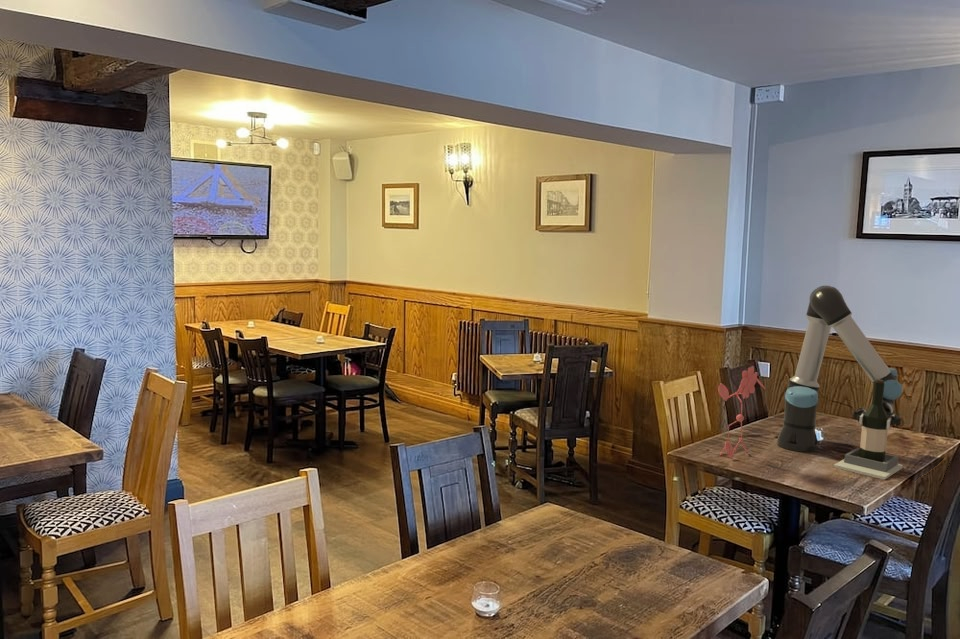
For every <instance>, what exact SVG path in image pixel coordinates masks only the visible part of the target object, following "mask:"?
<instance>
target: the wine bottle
mask: <svg viewBox="0 0 960 639" xmlns="http://www.w3.org/2000/svg"><path fill="white" fill-rule="evenodd" d="M884 384H885V383H884V382H883V380H879V379H876V381H875V382H874V384H873V389H872V390H873V391H872V399H871V400H872V401H871V405H870V406H868V408H867V409H866V410H865V411H866V412H865V413H864V414H863V423H862V424H861V425H862V426H861V434H860V445H859V448H860V454H859V457H861V458H865V459H869V460H874V461H878V462H882V463H883V462H884V460H885V454H886V450H887V441H888V440H887V439H888V431H889V429H887V420H888V418H889V416H888V415H887V413H886V411H885V409H884V407H883V405H882V404H883V394H884Z"/></svg>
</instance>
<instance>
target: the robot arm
mask: <svg viewBox="0 0 960 639" xmlns="http://www.w3.org/2000/svg"><path fill="white" fill-rule="evenodd" d="M852 314H853V312H852V311H851V310H850V308H849V306H848V305H847V303H846V302H845V299H844V297H843V294H842V293H841V292H840V290H838V289H837V288H836V287H835V286H831V285H821V286H818V287H816V288H814V290H813V291H812V292H811V293H810V295H809V302H808V307H807V311H806V315H805V316H806V318H807V319H808V322H807V327H806V332H805V335H804V339H803V343H802V346H801V349H800V354H799V358H798V361H797V362H798V363H797V366H796V369H795V374H794V375H793V376H792V377H791V378H789V381H788V385H787V388H786V391H785V393H784V413H783V424H782V427H781V430H780V432H779V434H778V437H777V439H776V444H777V446H779V447H780V448H783V449H786V450H790V451H795V452H802V453H804V452H805V453H809V452H810V453H811V452H816V451H818V450H819V441H818V437H817V432H816V421H817V420H816V419H817V411H818V402H819V395H818V394H819V390H820V387H821V386H820V384H819V383H818V379H819V374H820V371H821V367H822V363H823V360H824V355H825V351H826V348H827V344H828V341H829V337H830V333H831V328H833V329H834V331H835V332H836V334H837V336H838V337H839V338H840V339H841V341H842V342H843V344H844V345H845V346H846V347H847V349H848V351H849V352H850V353H851V354H852V356H853V357H854V359H855V360H856V361H857V363H858V364H859V366H860V367H861V368H862V370H863V371H864V372H865V374H866V376H868V378H869V379H870V381H871V382H872V383H873V385H874V382H875V381H876V379H879V380H883V382H884V383H885V384H884V394H883V404H882V405H883V407H884V409H885V411H886V413H887V415H888V416H889V418H888V420H887V429H888V430H889V429H890V428H891V427H892V426H895V425H896V426H898V427H899V426H901V420H902V418H901V416H900V413H894V411H895V406H896V405H895V401H896V399H899V398H900V397H901V395H902V394H903V386H902V384H901V383H900V382H899V381H898V370H897V369H895V368H893V367H888V366H887V364H886V363H885V361H884V360H883V358H882V357H881V356H880V355H879V353H878V352H877V351H876V349H875V348H874V346H873V345H872V343H871V342H870V341H869V339H868V338H867V336H866V335H865V334H864V332H863V331H862V330H861V328H860V327H859V325H857V323H856V321H855V320H854V318H853V317H852ZM866 411H867V410H865V409H863V408H862V407H859V408H858V409H857V410H855V411H853V414H852V418H853V419H854V420H857V422H858V424H859V425H862V423H863V414H864V413H865V412H866Z"/></svg>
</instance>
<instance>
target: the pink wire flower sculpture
mask: <svg viewBox="0 0 960 639" xmlns="http://www.w3.org/2000/svg"><path fill="white" fill-rule="evenodd" d="M758 375H759V374H758V371H756V372H755V367H754V365H751V366H750V367H748V368H747V370H746V369H745V370H743V371H742V372H741V377H742V379H741V381H740V384H739V386H738V389H737V391H735V392H734V393H732V394H730V391H729V390H728V388H727V386H726V385H724V384H723V383H722V382H721V383H719V385H718V389H717V390H718V394H719V397H721V398H722V399H723V401H725V402H727V401H728V399H730V398H731V397H734V396H736V397H737V399H738V401H739V402H740V414H737V415H736V417H735V418H736V420H735V421H734V422H732V423H730V424H728V425H727V440H726V441H725V442H724V447H723V449H722V451H721V452H720V454H719V456H722V454H724V452H725V451H726V454H727V456H728V457H729V458H730V459H731V460H733V458H734V455H735V453H734V452H735V451H736V449H737V448H738V446H739V445H740V444H741V446H742V447H743V449H744V450H745V452H746V453H747V454H749V451H748V449H747V447H746V445H745V444H744V442H743V421H744V420H745V417H744V415H743V403H744V402H743V401H742V399H743V400H744V399H748V398H749V397H750V394H754V393H755V391H756V388H755V385H756V383H758V384H759V385H760V387H762V388H763V389H764V390H767V389H766V387H765V385H764V384H763V383H762V381H761V380H760V379H759V378H758ZM739 395H742V399H741V398H740V396H739ZM737 422H740V436H741V437H739V438H738V439H739V441H738V442H737V444H736V445H735V446H734V447H733V446H732V444H731V442H730V426H733V425H734V424H735V423H737ZM762 456H763V457H764V456H765V455H764V454H762ZM709 457H710V458H712V456H711V455H709Z"/></svg>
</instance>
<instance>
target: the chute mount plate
mask: <svg viewBox="0 0 960 639" xmlns="http://www.w3.org/2000/svg"><path fill="white" fill-rule="evenodd" d="M859 454H860V447H856V448H854V449H852V450H851V451H849V452H847V453H845V454H844V459H842V460H840V461H838V462H836V463H834V464H833V468H835V469H838V470H839V469H840V470H844V471H847V472H852V473H856V474H860V475H864V476H867V477H873V478H876V479H880V480H884V481H885V480H886V479H888V478H889V477H891V476H892V475H894V474H895V473H897V472H899V471H900V470H902V469H903V467H904V464H900V463H899V456H896V455H892V454H888V453H885V460H884V462H883V463H882V462H878V461H874V460H869V459H865V458H861V457H859Z"/></svg>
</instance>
